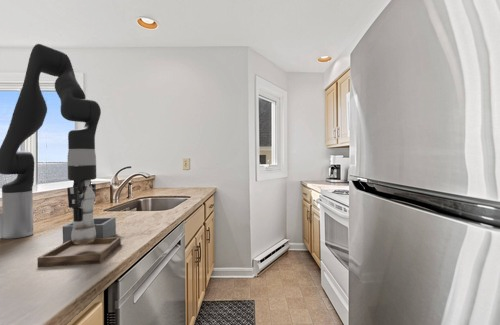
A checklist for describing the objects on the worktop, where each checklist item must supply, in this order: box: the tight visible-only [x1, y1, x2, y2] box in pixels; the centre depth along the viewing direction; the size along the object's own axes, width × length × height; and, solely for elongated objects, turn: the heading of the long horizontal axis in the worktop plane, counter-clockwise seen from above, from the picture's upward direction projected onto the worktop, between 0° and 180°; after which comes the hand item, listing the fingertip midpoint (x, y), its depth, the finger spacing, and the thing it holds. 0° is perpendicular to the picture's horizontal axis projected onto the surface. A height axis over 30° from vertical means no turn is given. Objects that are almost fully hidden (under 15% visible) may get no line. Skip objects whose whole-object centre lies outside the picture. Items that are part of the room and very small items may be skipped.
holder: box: [62, 217, 117, 244], centre depth 104 cm, size 13×13×6 cm
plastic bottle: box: [71, 180, 96, 244], centre depth 87 cm, size 6×7×20 cm
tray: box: [37, 236, 122, 268], centre depth 87 cm, size 16×18×2 cm
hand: (83, 218), depth 87 cm, fingers closed on plastic bottle, 6 cm apart
